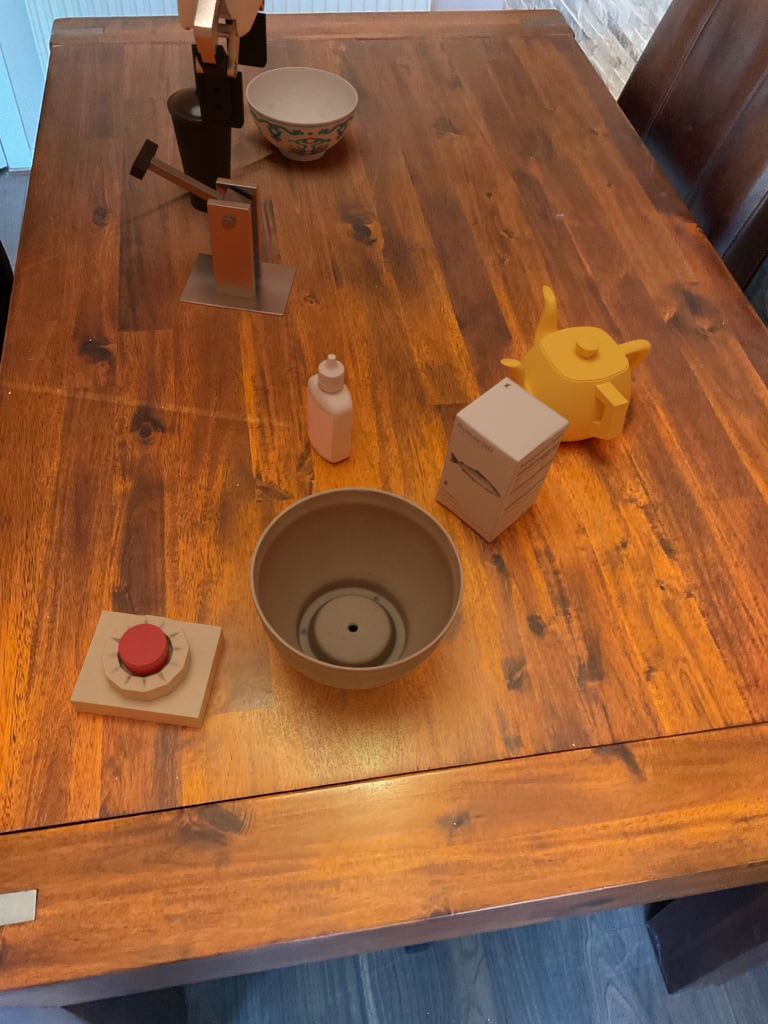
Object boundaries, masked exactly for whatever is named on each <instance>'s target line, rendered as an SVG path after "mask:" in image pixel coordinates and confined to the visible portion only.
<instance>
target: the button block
mask: <svg viewBox="0 0 768 1024" xmlns="http://www.w3.org/2000/svg"><path fill="white" fill-rule="evenodd" d="M101 611H102V612H101V614H100V617H99V620H98V622H97V624H96V627H95V629H94V633H93V636H92V639H91V642H90V644H89V646H88V649H87V652H86V655H85V658H84V659H83V660H84V661H83V663H82V666H81V668H80V672H79V674H78V677H77V680H76V682H75V685H74V688H73V691H72V693H71V696H70V699H69V701H70V703H71V705H72V706H73V708H74V710H75V712H80V713H85V714H93V715H100V716H102V715H103V716H109V717H115V718H121V719H122V718H123V719H129V720H137V721H145V722H152V723H159V724H165V725H173V726H181V727H188V728H196V729H202V727H203V723H204V719H205V715H206V711H207V708H208V703H209V699H210V695H211V691H212V688H213V684H214V680H215V675H216V672H217V668H218V664H219V660H220V657H221V653H222V649H223V645H224V641H225V635H224V631H223V626H219V625H214V624H213V625H212V624H205V623H198V622H192V621H183V620H176V619H170V618H169V617H165V616H160V615H152V614H144V615H143V614H142V615H140V614H134V613H127V612H126V613H125V612H120V611H119V612H118V611H113V610H106V609H105V610H104V609H103V610H101ZM139 624H152V625H155V626H157V627H159V628H160V629H161V630H162V631H163V632H164V634H165V636H166V639H167V642H168V646H169V657H168V660H167V662H166V663H165V665H164V666H163V667H162V668H161V669H160V670H158V671H157V672H155V673H152V674H149V675H137V674H134V673H132V672H130V671H129V670H128V669H127V668H126V667H125V666H124V664H123V661H122V659H121V656H120V654H119V650H118V646H119V641H120V639H121V637H122V635H123V634H124V633H125V632H126V631H127V630H128V629H130V628H131V627H133V626H136V625H139Z"/></svg>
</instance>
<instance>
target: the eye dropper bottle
mask: <svg viewBox="0 0 768 1024" xmlns="http://www.w3.org/2000/svg"><path fill="white" fill-rule="evenodd" d="M345 369H346V368H345V366H344V364H343V363H342V362H341V361H339V360H338V359H337V356H336V355H335V354H334V353H330V354H328V356H327V359H325V360H323V361H321V362H320V363H319V365H318V368H317V373H315V374H312V375H311V376H310V377H309V378H308V381H307V389H306V390H307V392H306V393H307V397H306V432H307V437H308V441H309V442H310V445H311V447H312V448H313V449H314V451H315V452H316V454H318V455H319V456H320V457H321V458H322V459H324V460H325V461H326V462H329V463H332V464H336V463H338V462H340V461H343V460H345V459H347V458H349V457H350V456H351V449H352V448H351V447H352V434H353V421H354V403H353V398H352V395H351V392H350V390H349V389H348V387H347V385H346V384H345Z"/></svg>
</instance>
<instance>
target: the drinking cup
mask: <svg viewBox="0 0 768 1024" xmlns="http://www.w3.org/2000/svg"><path fill="white" fill-rule="evenodd" d="M190 45H191V55H192V64H193V65H192V66H193V75H194V84H195V85H194V86H192V87H185V88H182V89H179V90H177V91H175V92H173V93H172V94H170V96H169V97H168V98H167V100H166V109H167V112H168V114H169V115H170V118H171V122H172V126H173V130H174V134H175V139H176V143H177V148H178V152H179V158H180V161H181V165H182V170H183V173H184V174H186V175H188V176H190V177H192V178H193V179H195V180H197V181H199V182H201V183H203V184H204V185H206V186H208V187H210V188H212V189H214V190H215V191H217V189H216V181H217V179H218V178H225V179H231V177H232V176H231V175H232V173H231V171H232V128H231V127H224V126H216V125H209V124H205V123H203V122H202V120H201V113H200V102H199V92H198V81H197V71H196V57H195V51H196V50H195V47H197V46H196V43H192V44H190ZM187 192H188V196H189V201H190V204H191V206H192V207H193V208H194V209H195V210H197V211H199V212H201V213H206V214H208V210H207V202H208V201H206V200H204V199H202V198H200V197H198V196H197V195H195V194H193V193H191V192H189V191H187Z"/></svg>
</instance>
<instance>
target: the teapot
mask: <svg viewBox="0 0 768 1024" xmlns="http://www.w3.org/2000/svg"><path fill="white" fill-rule="evenodd" d="M542 299H543V308H542V312H541V315H540V318H539V320H538V323H537V326H536V328H535V331H534V334H533V338H532V347H531V348H530V349H529V350H528V351H527V352H526V353H525V354H524V355H523V356H522V357H521V359H520V360H518V359H514V358H503V359H501V360H500V364H501V365H502V366H504V367H506V368H508V369H509V370H510V374H509V376H508V378H509V379H511V380H512V381H513V382H515V383H516V384H518V385H519V386H520V387H522V388H523V389H524V390H526V391H527V392H529V393H530V394H531V395H533V396H535V397H536V398H537V399H539V400H540V401H541V402H543V403H544V404H545V405H547V406H548V407H550V408H551V409H552V410H554V411H555V412H557V413H558V414H560V415H561V416H562V417H564V418H565V419H567V420H568V421H569V425H568V427H567V429H566V431H565V433H564V435H563V437H562V440H561V442H563V443H564V442H566V443H567V442H578V441H583V440H587V439H591V438H597V439H601V440H604V441H610V440H613V439H617V438H620V437H622V433H623V429H624V425H625V421H626V416H627V412H628V410H629V407H630V403H631V398H632V389H633V387H632V373H633V372H634V371H636V369H638V368H639V366H641V365H642V364H643V363H644V361H645V360H646V359H647V358H648V356H649V355H650V353H651V351H652V344H651V342H650V341H649V340H647V339H643V338H642V339H641V338H640V339H639V338H638V339H634V340H630V341H626V342H622V343H620V344H618V343H617V342H616V341H615V340H614V338H612V337H611V335H610V334H609V333H607V332H606V331H605V330H604V329H602V328H600V327H595V326H588V325H587V326H586V325H585V326H583V325H582V326H572V327H566V328H563V329H559V327H558V306H557V305H558V304H557V299H556V295H555V293H554V291H553V289H552V288H551V287H550V286H548V285H543V287H542ZM627 356H628V357H627ZM561 442H560V443H561Z"/></svg>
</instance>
